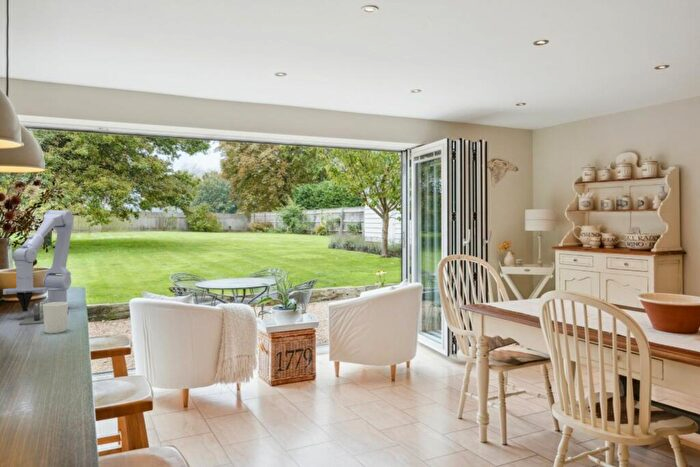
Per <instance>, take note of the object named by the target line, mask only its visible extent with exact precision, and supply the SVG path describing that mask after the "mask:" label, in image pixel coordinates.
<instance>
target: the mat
mask: <svg viewBox="0 0 700 467" xmlns="http://www.w3.org/2000/svg"><path fill="white" fill-rule="evenodd" d="M40 324H42V325H44V317H43V316H42V317H41V318H40V320H39V321H34V312H31V313H29V314H28V315H27V316H26V317H25V318H24V319H23V320H21V322H20V323H19V324H18V325H19V326H26V325H40Z"/></svg>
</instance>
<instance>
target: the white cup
mask: <svg viewBox="0 0 700 467" xmlns="http://www.w3.org/2000/svg"><path fill="white" fill-rule="evenodd" d="M68 306H69V303H68V301H67V302H53V303H48V302H45V304H43V317H44V324H43V325H44V333H45V334H58V333H63V332H66V331H67V324H68V313H69V311H68V310H69V308H68Z"/></svg>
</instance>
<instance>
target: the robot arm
mask: <svg viewBox="0 0 700 467" xmlns="http://www.w3.org/2000/svg"><path fill="white" fill-rule="evenodd" d="M74 219H75V216H74V215H73V213H72V211H71V210H68V209H66V210H61V209H60V210H59V209H58V210H55V209H54V210H52V209H47V210H46V211H45V214H43V220H42V222H41V224H40V226H39V227H38V228H37V231H36V232H35V233H32V234H30V235H29V236H28V238H27V239H26V240H25V241H24V243H23V244H22V245H21V247H18V248H17V249H15V250H14V251H13V253H12V255H11V257H12V260H13V262H14V266H15V268H16V269H15V270H16V271H15V272H16V274H15V277H16V278H15V280H16V283H15V284H16V287H15V288H3V289H2V295H12V294H15V295H16V298H17V300H18V302H19V303H20V306H21V309H22V313H23V312H28V311H29V310H28V309H29V305H30V302H31V300H32V297H33V296H34V294H35V293H36V294H38V293H43V294H45V293H47V303H53V302H67V303H68V297H67V296H68V292H67V290H69V288H70V287H71V284H72V277H71V276H72V275H71V274H72V273H71V272H70V271H69V270H68V269H67V263H68V262H67V261H68V255H69V249H70V242H71V235H72V230H73V227H74ZM52 229H53V230H55V231H56V240H55V244H54V245H55V247H54V252H53V258H52V265H51V267H50V268H48V269H47V270H46V271H45V276H44V277H43V279H42V285H43V286H44V287H35V286H34V262H35V261H36V259H37V258H38V256H37V255H38V252H39V250H40V248H41V247H42V246H43V244H44V243H45V240H44V238H45V237H46V236H47V235H48V234H49V233H50V231H51V230H52ZM69 308H70V305H68V309H69Z"/></svg>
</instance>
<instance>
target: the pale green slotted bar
mask: <svg viewBox="0 0 700 467" xmlns="http://www.w3.org/2000/svg"><path fill="white" fill-rule="evenodd" d="M39 304H40V318H41V317H42V316H43V304H46V301H40V302H39Z"/></svg>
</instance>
